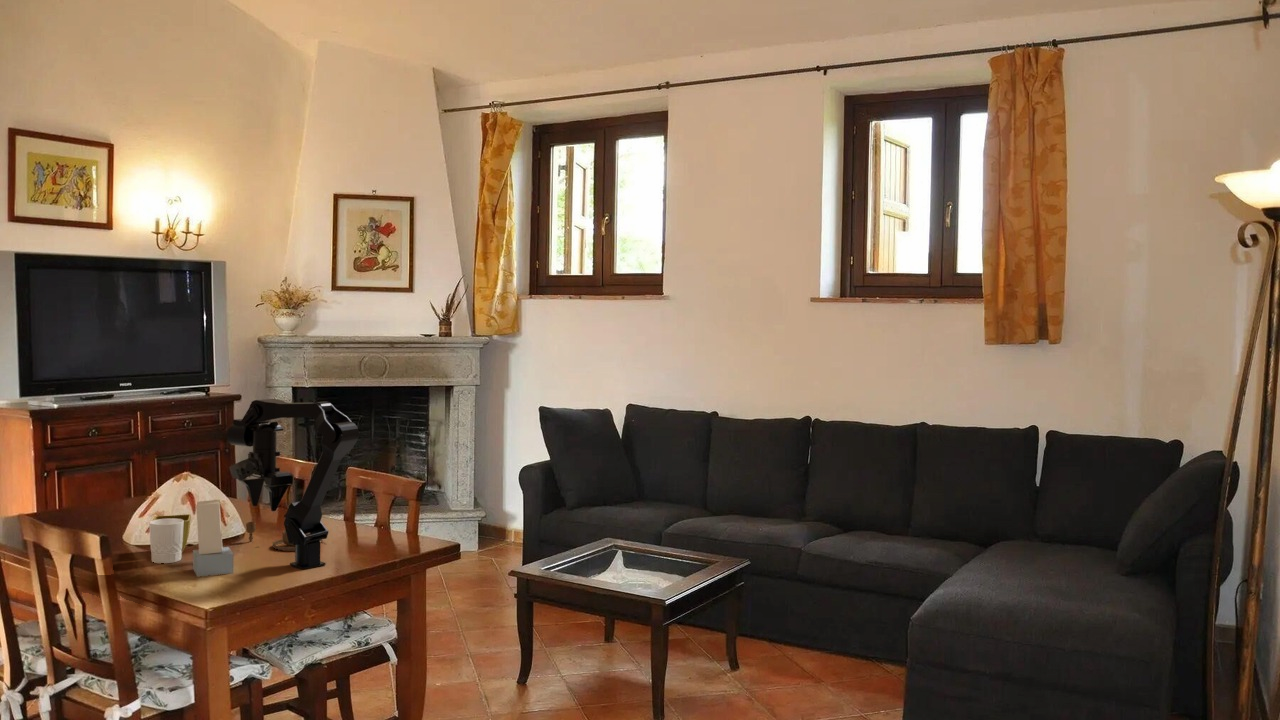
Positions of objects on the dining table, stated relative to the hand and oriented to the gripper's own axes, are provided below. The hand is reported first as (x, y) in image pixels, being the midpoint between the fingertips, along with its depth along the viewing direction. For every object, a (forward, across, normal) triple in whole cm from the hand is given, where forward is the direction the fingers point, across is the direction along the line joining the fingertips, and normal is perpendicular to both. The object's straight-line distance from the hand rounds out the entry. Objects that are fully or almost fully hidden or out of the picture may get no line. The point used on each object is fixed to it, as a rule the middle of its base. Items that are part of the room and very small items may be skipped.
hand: (264, 508), depth 254 cm
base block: (+13, +3, -15) cm, 20 cm away
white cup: (+13, -15, -18) cm, 27 cm away
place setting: (+14, -10, +13) cm, 22 cm away
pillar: (+8, +3, -15) cm, 17 cm away
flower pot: (+13, -23, -13) cm, 30 cm away
